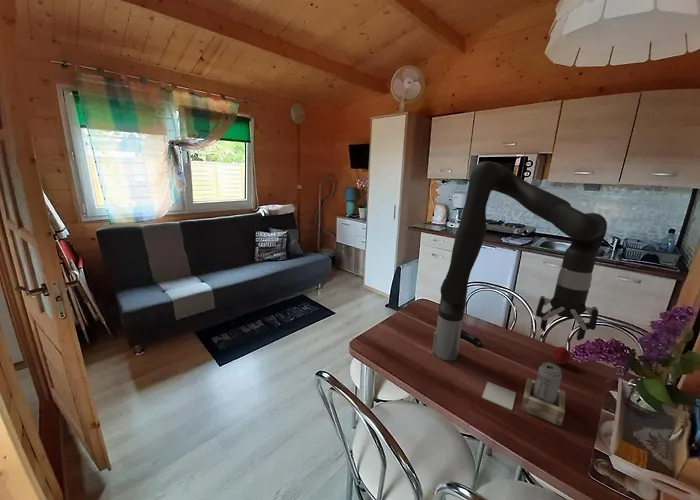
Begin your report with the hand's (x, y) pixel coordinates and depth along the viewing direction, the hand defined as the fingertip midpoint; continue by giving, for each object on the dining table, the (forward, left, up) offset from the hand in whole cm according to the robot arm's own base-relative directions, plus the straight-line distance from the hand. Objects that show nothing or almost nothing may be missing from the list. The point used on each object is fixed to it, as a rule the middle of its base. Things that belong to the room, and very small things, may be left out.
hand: (560, 334), depth 90 cm
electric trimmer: (-31, +25, -27) cm, 48 cm away
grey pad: (-12, -4, -26) cm, 29 cm away
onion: (+4, +29, -26) cm, 40 cm away
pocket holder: (0, -1, -26) cm, 26 cm away
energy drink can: (0, -1, -26) cm, 26 cm away
